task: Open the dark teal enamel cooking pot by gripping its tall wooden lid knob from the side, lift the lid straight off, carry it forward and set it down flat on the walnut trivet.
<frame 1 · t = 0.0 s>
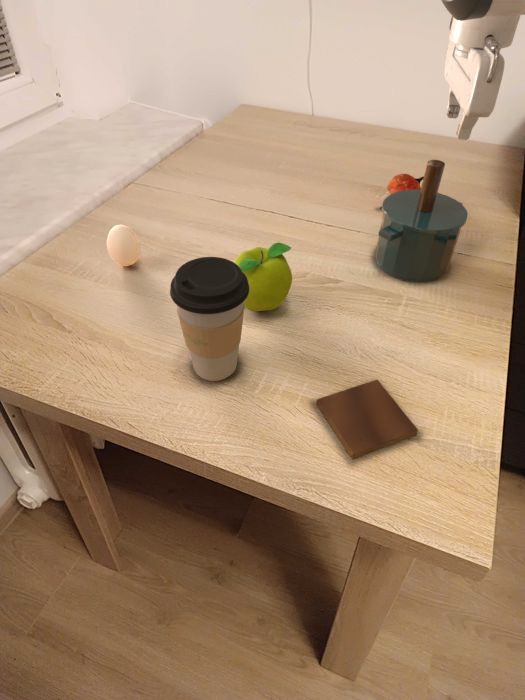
hand: (456, 127, 82), 19 cm above the table, tool pointing down, fingers open, 8 cm apart
coffee cup: (215, 366, 69), on the table
fruit: (261, 305, 79), on the table
lid: (423, 212, 81), point 9 cm above the table, touching pot
egg: (127, 265, 86), on the table
pomegranate: (398, 209, 101), on the table
trivet: (364, 419, 62), on the table
pot: (411, 261, 87), on the table
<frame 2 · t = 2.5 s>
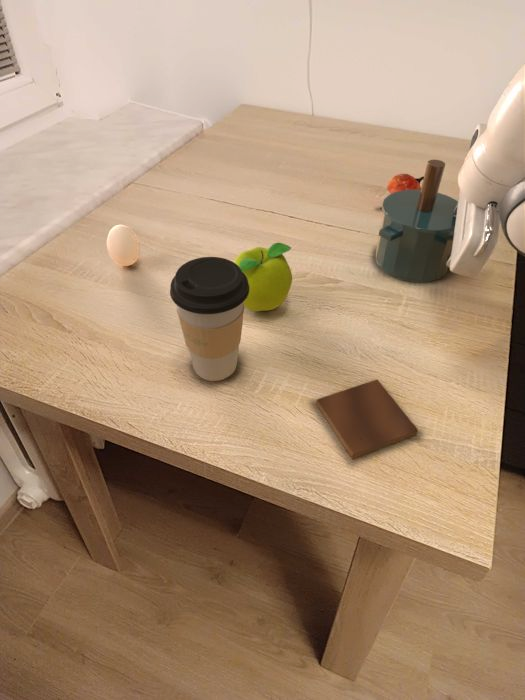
hand: (454, 239, 77), 9 cm above the table, tool tilted 25°, fingers open, 8 cm apart
lid: (423, 211, 81), point 10 cm above the table, touching gripper, pot
everything else where it was.
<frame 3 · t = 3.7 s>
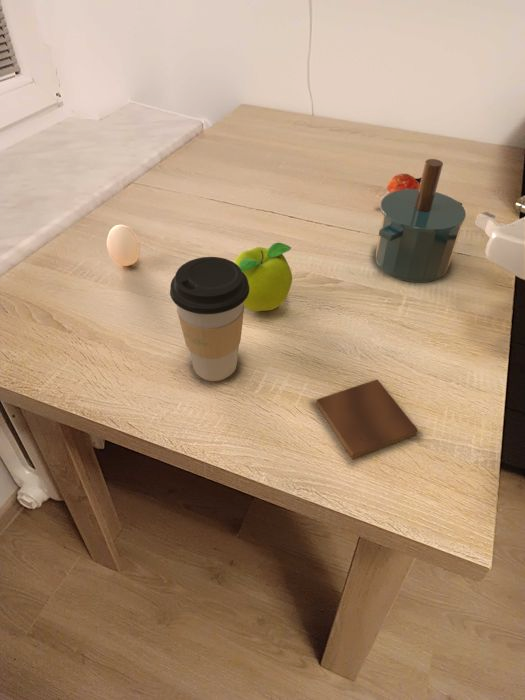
hand: (499, 209, 70), 15 cm above the table, tool horizontal, fingers open, 8 cm apart
lid: (421, 211, 81), point 9 cm above the table, touching pot
everything else where it was.
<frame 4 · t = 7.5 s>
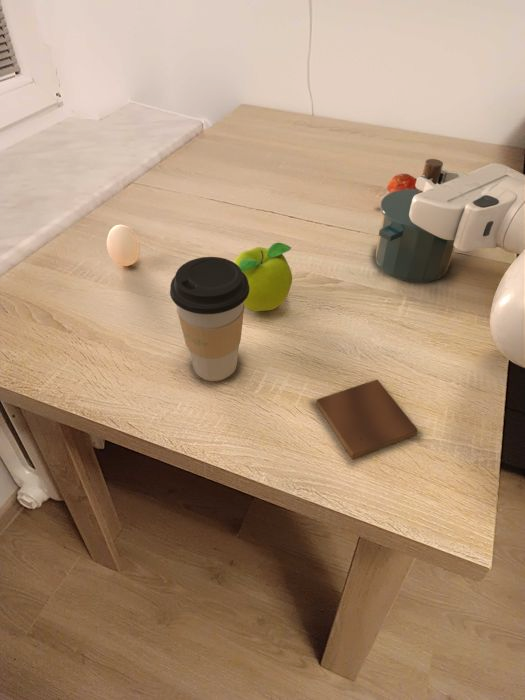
hand: (427, 177, 78), 15 cm above the table, tool horizontal, fingers closed on lid, 2 cm apart
lid: (421, 211, 81), point 10 cm above the table, touching gripper, pot
everything else where it was.
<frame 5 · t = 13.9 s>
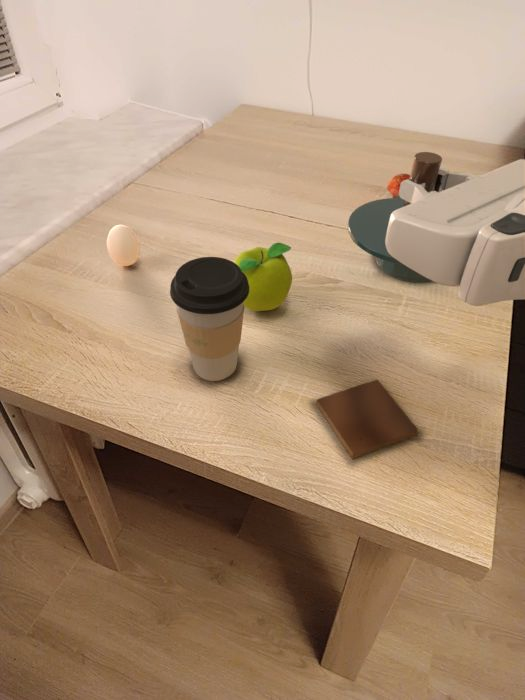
hand: (418, 181, 50), 27 cm above the table, tool horizontal, fingers closed on lid, 2 cm apart
lid: (410, 232, 53), point 21 cm above the table, touching gripper
everything else where it was.
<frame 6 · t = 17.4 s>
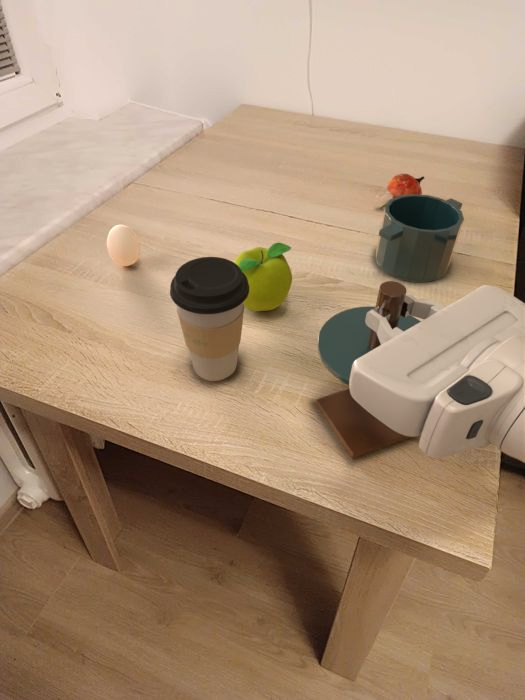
hand: (384, 307, 51), 17 cm above the table, tool horizontal, fingers closed on lid, 2 cm apart
lid: (379, 349, 54), point 12 cm above the table, touching gripper
everything else where it was.
when the fingers open (7 cm above the table, at t = 20.3 s): lid stays where it is, resting on trivet.
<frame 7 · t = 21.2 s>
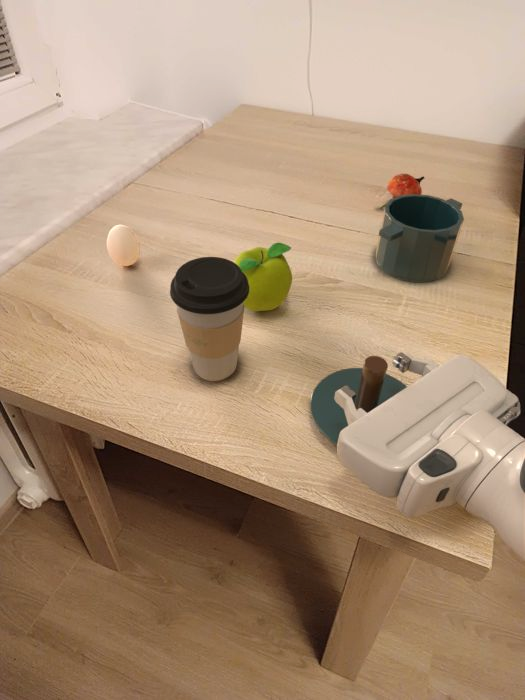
hand: (369, 373, 57), 7 cm above the table, tool horizontal, fingers open, 8 cm apart
lid: (364, 410, 61), point 2 cm above the table, touching trivet
everything else where it was.
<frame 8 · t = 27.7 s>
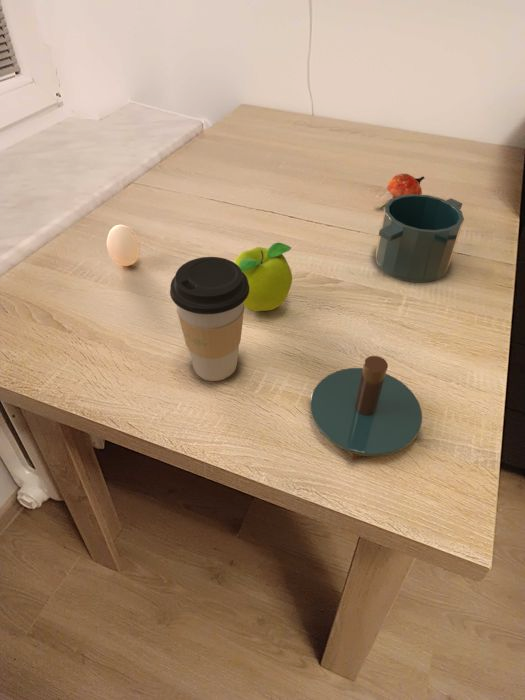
nothing on the table moved.
at the end: lid inside the target area on the trivet (0.2 cm from its centre), point 1.6 cm above the trivet's base; lid tilted 0°; lid touching trivet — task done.
